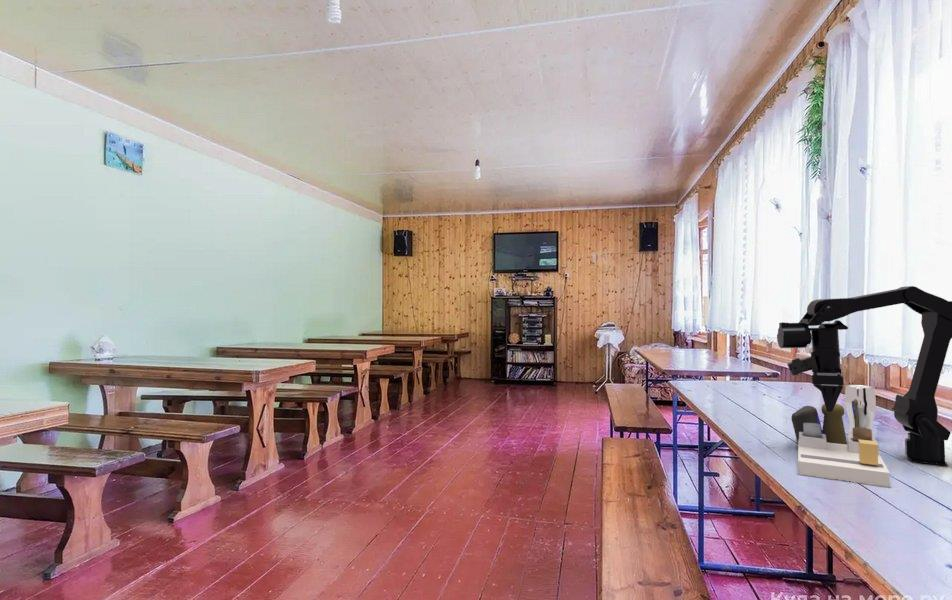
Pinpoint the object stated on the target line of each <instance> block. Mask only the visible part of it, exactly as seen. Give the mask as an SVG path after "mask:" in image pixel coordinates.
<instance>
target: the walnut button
mask: <svg viewBox="0 0 952 600" xmlns="http://www.w3.org/2000/svg"><path fill="white" fill-rule="evenodd" d="M858 439H859V440H869V441H872V430H871V429H868V428H861V427H854V428H853V441H855V442H858Z"/></svg>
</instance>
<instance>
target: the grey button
mask: <svg viewBox="0 0 952 600" xmlns="http://www.w3.org/2000/svg"><path fill="white" fill-rule="evenodd" d="M803 427H804V436H806V437H815V438H821V428H822V424H821V425H820V424H816V423H803Z"/></svg>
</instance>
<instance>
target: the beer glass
mask: <svg viewBox="0 0 952 600" xmlns="http://www.w3.org/2000/svg"><path fill="white" fill-rule="evenodd" d="M844 393H845V394H844V400H845V401H844V402H845V403H844V404H845V409H846V413H847V416H848V421H849V422H848V423H849V430H848V435H847V437H853V428H854V427H861V428H868V429H871V430H872V439H875V440H876V437H875V433H874V421H875V415H876V409H877V407H876V406H877V405H876V404H877V398H876V391H875V386H871V385H864V384H863V385H862V384H846V385H845V391H844Z"/></svg>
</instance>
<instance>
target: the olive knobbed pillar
mask: <svg viewBox="0 0 952 600" xmlns="http://www.w3.org/2000/svg"><path fill="white" fill-rule="evenodd" d="M821 413H822V414H823V422H822V431H823V434H825V435H826V442H828V443H837V444H846V445H847V435H846V431H845V424H844V420H843V416H844V415H845V408H844V406H843V405H841V404H839V403H836V404H835V407H834V409H833V411H832V412H828V411H827V410H826V406H825V403H823V404H822V405H821Z"/></svg>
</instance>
